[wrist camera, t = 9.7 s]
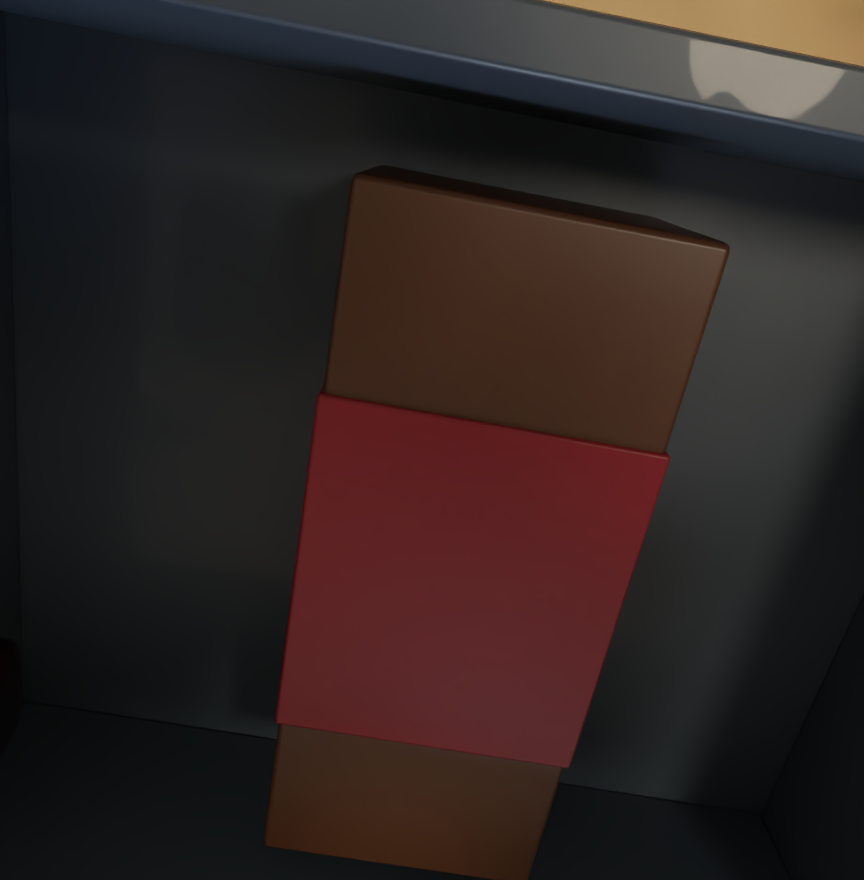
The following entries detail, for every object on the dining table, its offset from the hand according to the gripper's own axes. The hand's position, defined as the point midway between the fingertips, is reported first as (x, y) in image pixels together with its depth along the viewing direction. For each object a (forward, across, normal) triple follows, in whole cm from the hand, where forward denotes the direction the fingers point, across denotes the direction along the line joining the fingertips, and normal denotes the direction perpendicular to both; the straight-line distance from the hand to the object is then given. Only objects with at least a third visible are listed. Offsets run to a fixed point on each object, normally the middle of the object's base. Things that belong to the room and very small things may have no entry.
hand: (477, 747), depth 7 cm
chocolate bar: (+6, 0, 0) cm, 6 cm away
